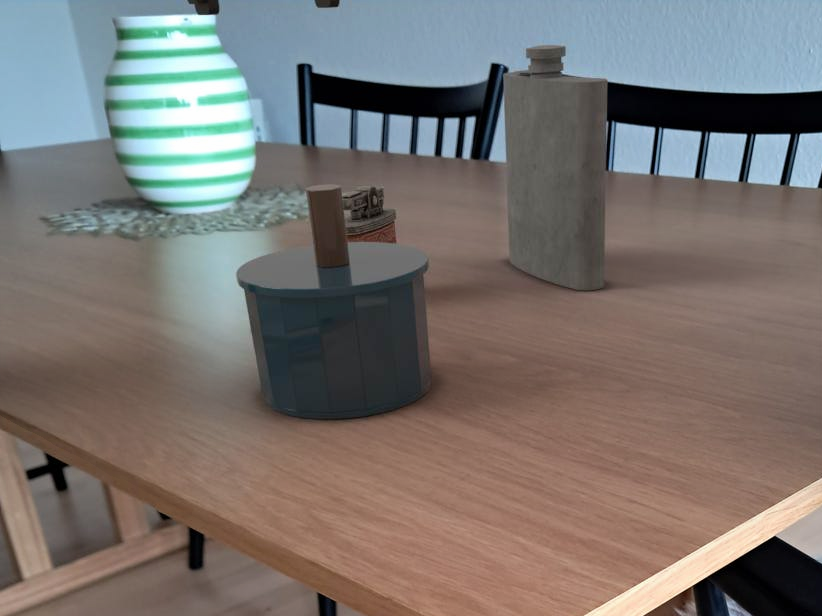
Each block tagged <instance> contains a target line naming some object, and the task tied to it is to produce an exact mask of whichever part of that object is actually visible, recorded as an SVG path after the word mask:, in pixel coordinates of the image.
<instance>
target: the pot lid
mask: <svg viewBox="0 0 822 616" xmlns="http://www.w3.org/2000/svg"><path fill="white" fill-rule="evenodd" d="M305 193H306V200H307V209H308V210H307V211H308V217H309V224H310V230H311V238H312V245H305V246H298V247H293V248H292V247H291V248H288V249H282V250H278V251H274V252H271V253H267V254H265V255H261V256H259V257H256V258H253V259H250V260H248V261H246V262H244V263H243V264H242V265H241V266H239V267H238V269H237V270H236V273H235V276H236V283H237V284H238V286H239V287H240V288H241V289H243V290H244V289H245V290H247V291H249V292H252V293H256V294H260V295H265V296H272V297H283V298H325V297H338V296H348V295H355V294H362V293H368V292H374V291H378V290H383V289H387V288H391V287H395V286H398V285H401V284H404V283H407V282H410V281H412V280H414V279H416V278H418V277H420V276H422V275H423V276H424V274H426V272H427V271H429V269H430V261H429V255H428V254H427V252H425V251H424V250H422V249H420V248H417V247H413V246H411V245H406V244H399V243H396V244H393V243H382V242H347V233H346V225H345V218H346V216H345V210H344V208H343V199H342V195H343V191H342V186H341V185H340V184H333V183H330V184H329V183H328V184H316V185H311V186H308V187H306V188H305Z"/></svg>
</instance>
